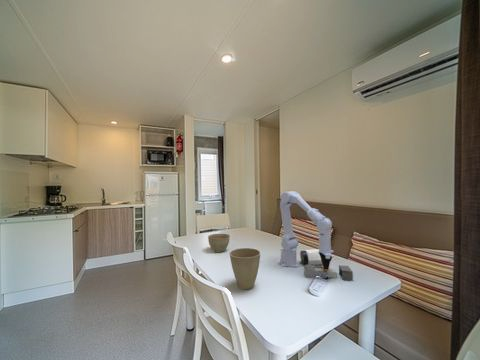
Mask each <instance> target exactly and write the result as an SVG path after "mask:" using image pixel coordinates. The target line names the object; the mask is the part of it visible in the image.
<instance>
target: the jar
mask: <svg viewBox="0 0 480 360" xmlns="http://www.w3.org/2000/svg"><path fill="white" fill-rule="evenodd" d="M299 256H300V261H301V263H302V265H303V266H304V265H306V264H308V265H314V266H320V265H321V266H323V265H322V261H321V257H320V254H319V248H315V249H304V250H300V253H299Z"/></svg>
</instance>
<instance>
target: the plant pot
mask: <svg viewBox="0 0 480 360" xmlns="http://www.w3.org/2000/svg"><path fill="white" fill-rule="evenodd" d="M229 258H230V264H231V268H232V272H233V275H234V278H235V281H236V283H237V286H238V288H239V289H241V290H251V289H252V288H254V286H255V283H256V280H257V275H258V273H259V268H260V262H261V261H260V260H261V251H260V250H259V249H256V248H252V247H251V248H250V247H242V248H235V249H233V250H231V251H230V252H229Z"/></svg>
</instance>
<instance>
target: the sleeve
mask: <svg viewBox="0 0 480 360" xmlns="http://www.w3.org/2000/svg"><path fill="white" fill-rule="evenodd" d="M315 268H323V265H321V266H320V265H308V264H306V265H303V272H304V277H305V278H307V279H308V278H309V279H316V278H315V277H316V276H320V275H322V274H323V275H328V271H316V270H315Z"/></svg>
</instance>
